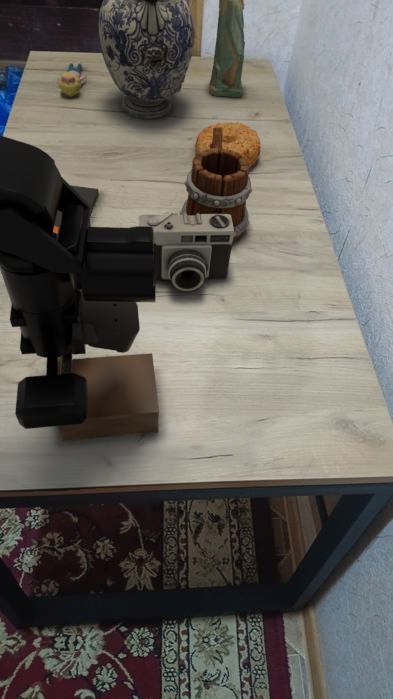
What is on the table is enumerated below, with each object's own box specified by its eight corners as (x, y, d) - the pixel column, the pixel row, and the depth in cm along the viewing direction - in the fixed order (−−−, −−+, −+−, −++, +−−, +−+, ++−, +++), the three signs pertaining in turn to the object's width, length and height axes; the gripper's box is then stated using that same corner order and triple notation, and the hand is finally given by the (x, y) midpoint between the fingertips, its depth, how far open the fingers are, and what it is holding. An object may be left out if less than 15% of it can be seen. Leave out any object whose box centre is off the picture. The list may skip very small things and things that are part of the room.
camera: (134, 295, 73) (132, 241, 65) (140, 256, 79) (140, 202, 71) (226, 302, 74) (236, 250, 66) (226, 262, 79) (235, 210, 72)
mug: (180, 249, 80) (184, 157, 70) (177, 208, 90) (180, 123, 80) (251, 250, 81) (265, 160, 71) (240, 209, 91) (251, 125, 81)
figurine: (64, 71, 116) (56, 98, 107) (61, 51, 113) (52, 77, 103) (89, 73, 117) (83, 100, 107) (88, 52, 114) (81, 78, 104)
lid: (51, 424, 55) (43, 401, 51) (53, 363, 60) (46, 338, 56) (158, 414, 57) (159, 392, 53) (152, 356, 62) (152, 331, 58)
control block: (69, 269, 76) (66, 255, 73) (30, 264, 76) (26, 249, 73) (99, 194, 88) (97, 179, 85) (65, 190, 88) (63, 175, 85)
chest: (62, 441, 58) (57, 424, 55) (63, 382, 63) (58, 363, 60) (158, 432, 60) (158, 415, 57) (152, 375, 65) (152, 356, 62)
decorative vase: (196, 132, 103) (208, -32, 80) (106, 133, 100) (93, -36, 78) (182, 83, 115) (190, -69, 93) (102, 83, 112) (90, -74, 90)
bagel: (266, 148, 101) (270, 124, 97) (247, 183, 93) (252, 159, 89) (206, 133, 103) (209, 109, 99) (184, 166, 95) (185, 142, 91)
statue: (246, 99, 113) (266, -34, 93) (210, 98, 112) (222, -37, 92) (242, 85, 117) (260, -46, 97) (207, 84, 116) (218, -48, 96)
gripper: (140, 368, 40) (143, 452, 52) (126, 220, 51) (131, 319, 63) (-4, 379, 38) (34, 463, 51) (14, 224, 49) (42, 325, 62)
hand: (66, 385), depth 56 cm, fingers open, 7 cm apart
